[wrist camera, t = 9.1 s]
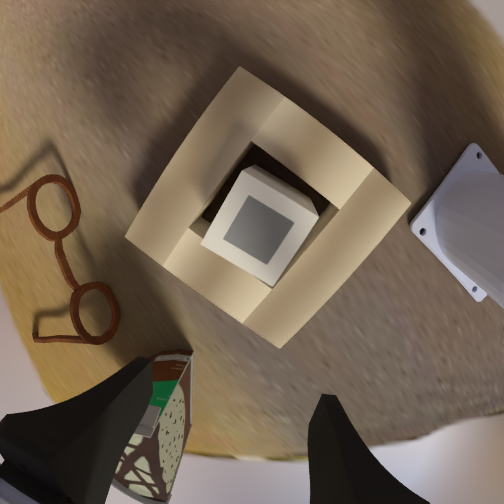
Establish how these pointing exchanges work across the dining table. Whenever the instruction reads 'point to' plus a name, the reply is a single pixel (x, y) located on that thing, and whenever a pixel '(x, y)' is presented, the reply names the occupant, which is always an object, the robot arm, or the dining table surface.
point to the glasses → (61, 258)
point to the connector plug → (261, 224)
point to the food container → (159, 432)
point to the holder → (298, 161)
